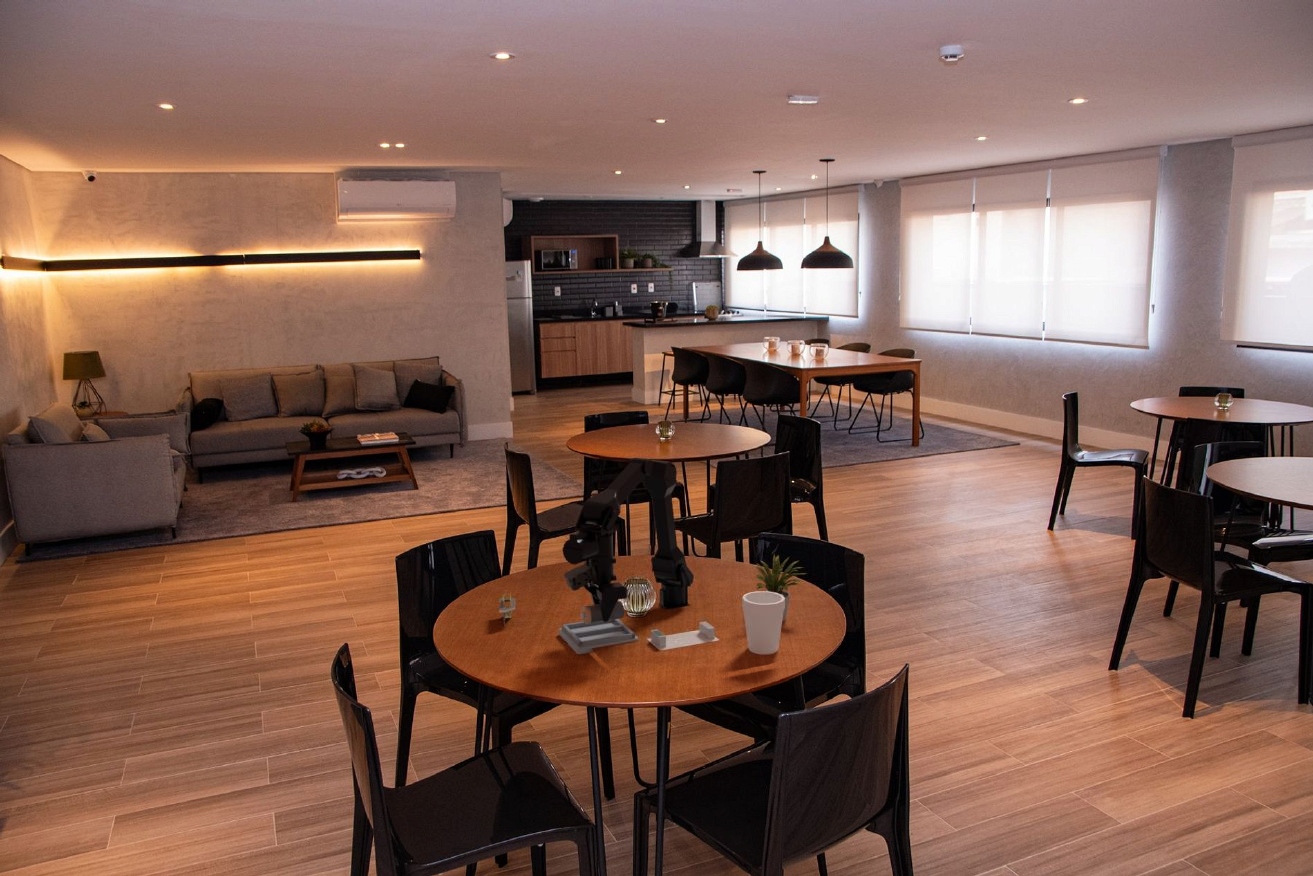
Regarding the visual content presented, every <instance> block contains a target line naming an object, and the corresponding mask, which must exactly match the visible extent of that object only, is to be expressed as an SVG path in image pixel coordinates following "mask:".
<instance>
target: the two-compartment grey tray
mask: <svg viewBox="0 0 1313 876" xmlns="http://www.w3.org/2000/svg"><path fill="white" fill-rule="evenodd" d="M558 635H559V636H560V637H561V638H562V640H563V641H566V642H567V643H568V644H567V643H566V642H565V643H566V644H567V645H568V646H569V647H570V649H572V650H573V651H574V653H575V654H576V655H577V654H579V655H583V654H584V655H585V654H590V653H595V652H596V651H595V650H594V648H596V649H597V648H601V647H608V646H614V645H619V644H626V643H630V642H631V643H632V642H637V641H639V640H640V638H639V637H638V636H637V635H636V633H635V632H634V631H633V630H631V628H629V627H628V626H627V625H625V623H623V622H622V621H621V619H613V620H608V621H607V622H604V621H601V622H594V623H588V624H585V623H584V621H583V620H582V621H578V622H571V623H564V624H562V625H561V628H558Z"/></svg>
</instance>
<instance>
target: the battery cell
mask: <svg viewBox="0 0 1313 876" xmlns="http://www.w3.org/2000/svg"><path fill="white" fill-rule="evenodd" d="M579 615H580V619H581V620H582V622H583V621H584V623H585V624H588V623H594V622H601V621H603V618H602V613H601V607H600V604H596V605H594V604H591V605H585V606H582V608H581V611H580V614H579ZM624 617H625V608H624V603H623V602H622V601H621V600H618V601H617V603H616V605H615V607H614V609H613V611H612V613H611V616H610V618H609V620H613V619H619V620H621V619H623V618H624Z"/></svg>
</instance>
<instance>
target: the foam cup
mask: <svg viewBox="0 0 1313 876" xmlns="http://www.w3.org/2000/svg"><path fill="white" fill-rule="evenodd" d="M741 600H742V601H741V604H742V605H741V607H742V610H743V615H744V616H743V617H744V625H745V633H746V640H747V646H748V647H747V648H748V650H749V651H750V652H751V653H753V654H757V655H772V654H775V653H777V652H778V650H779V646H780V641H781V640H780V638H781V633H782V631H781V630H782V623H783V621H782V618H783V611H784V609H785V598H784V596H783V595H781V594H778V593H775V592H769V591H767V590H763V591H762V590H758V591H752V592H751V591H750V592H748V593H745V594H744V595H743V596H742V597H741Z"/></svg>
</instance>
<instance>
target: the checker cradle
mask: <svg viewBox="0 0 1313 876" xmlns="http://www.w3.org/2000/svg"><path fill="white" fill-rule="evenodd" d="M698 623H699V624H698V626H699V628H698V629H697V630H693V631H684V632H679V633H673V634H668V635H665V634H664V633H662V631H660V630H659V629H658V628H656V629H652V630H650V638H646V640H647V641H648V642H650V644H652V645H653V646H654V647H655V648H657V649H658V650H659V652H660V651H666V650H673V649H678V648H684V647H689V646H695V645H701V644H706V643H712V642H717V641H718V642H719V641H720V639H719V638H717V637H716V628H715V627H714V626H712V625H711V624H710V623H708V622H707V621H700V622H698Z"/></svg>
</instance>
